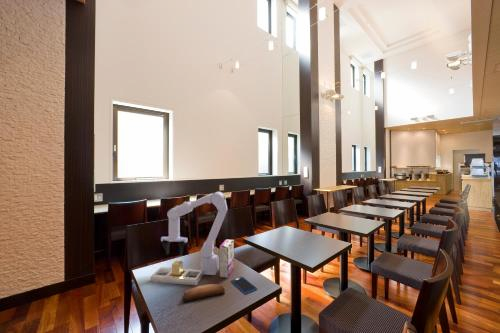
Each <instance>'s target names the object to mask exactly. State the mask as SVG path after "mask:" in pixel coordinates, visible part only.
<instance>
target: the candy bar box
mask: <svg viewBox="0 0 500 333" xmlns="http://www.w3.org/2000/svg"><path fill="white" fill-rule="evenodd" d="M234 241H235V240H234V239H225V240H224V241H223V242H222V243H221V244H220V246H219V277H220V278H225V279H227V278H228V279H229V277H230V276H231V274H232V273H233V270H234V269H235V266H234V265H235V257H234V256H235V254H234V253H235V248H234V246H235V244H234V243H235V242H234Z"/></svg>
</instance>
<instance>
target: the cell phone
mask: <svg viewBox="0 0 500 333" xmlns="http://www.w3.org/2000/svg"><path fill="white" fill-rule="evenodd" d="M230 282H231V284H233V285H234V286H235V287H236V289H238V290H239V291H240V292H241V293H242V294H243V295H249V294H252V293H253V292H255V291H258V290H257V289H258V288H257V286H255V285H254V284H253V283H251V282H250V281H248V280H247V279H246V278H245V277H244V276H239V277H237V278H234V279H232V280H230Z"/></svg>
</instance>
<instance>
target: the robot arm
mask: <svg viewBox="0 0 500 333" xmlns="http://www.w3.org/2000/svg"><path fill="white" fill-rule="evenodd" d="M226 199H227V198H226V195H225V194H224V192H222V191H216V192H212V193H209V194H206V195H204V196H203V197H200V198H198V199H196V200H194V201H191V202H190V201H186V200H185V201H184V202H182V204H180V205H179V204H178V205H175V206H174V207H172V208H170V209H169V210H168V211H167V213H166V214H167V215H166V216H167V218H168V236H161V237H160V242H161V245H162V247H163V249H164V252H165V255H166V256H168V255H169V254H170V244H171V242H175V243H177V242H178V243H177V245H178V256H179V257H182V255H183V252H184V248H185V246H186V244H187V243H188V237H184V236H181V232H180V231H181V228H180V227H181V226H180V225H181V223H180V222H181V220H180V217H182V216H185V215H186V214H189V213H190V212H193V210H194V209H195V208H196V207H199V206H202V205H204V204H206V203H207V204H213V205H214V207H216V210H217V214H216V217H215V219H214V221H213V224H212V226H211V228H210V231H209V234H208V236H207V238H206V240H205V241H204V242H203V244H202V247H201V248H200V252H199V253H200V270H203V275H205V276H206V275H207V276H209V275H210V276H215V275H216V274H217V272H218V271H219V270H220V256H219V255H218V254H215V253H214V248H215V243H216V239H217V237H218V235H219V232H220V229H221V227H222V224H223V222H224V220H225V217H226V215H227V213H228V204H227V200H226Z"/></svg>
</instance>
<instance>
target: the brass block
mask: <svg viewBox="0 0 500 333" xmlns="http://www.w3.org/2000/svg"><path fill="white" fill-rule="evenodd" d="M171 268H172V276H179V277H181V276H182V274H183V269H184V261H183V260H182V261H181V260H179V261H177V260H175V261H174V262H173V263H172V264H171Z"/></svg>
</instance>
